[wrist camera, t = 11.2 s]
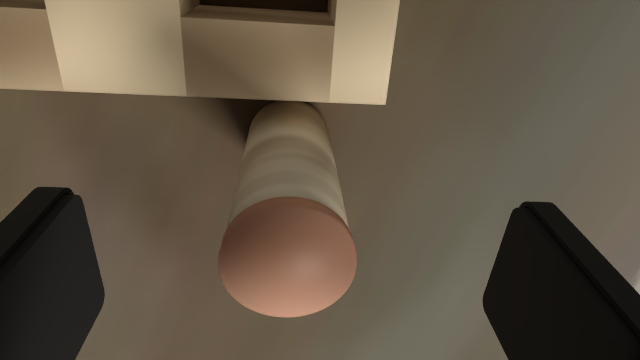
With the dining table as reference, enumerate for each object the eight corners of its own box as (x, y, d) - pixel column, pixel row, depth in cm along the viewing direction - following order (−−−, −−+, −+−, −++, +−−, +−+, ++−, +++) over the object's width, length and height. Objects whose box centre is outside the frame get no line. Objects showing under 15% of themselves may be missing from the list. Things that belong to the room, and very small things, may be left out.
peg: (326, 175, 18) (349, 317, 11) (247, 173, 18) (221, 317, 11) (332, 99, 17) (364, 209, 10) (246, 96, 17) (214, 206, 9)
